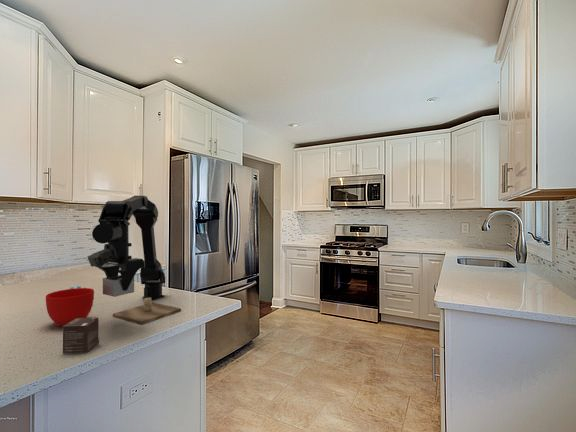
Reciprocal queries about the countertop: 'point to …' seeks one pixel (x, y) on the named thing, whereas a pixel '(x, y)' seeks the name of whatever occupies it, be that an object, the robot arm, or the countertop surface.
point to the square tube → (116, 286)
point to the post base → (146, 312)
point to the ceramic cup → (69, 304)
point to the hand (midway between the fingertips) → (118, 289)
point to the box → (80, 335)
